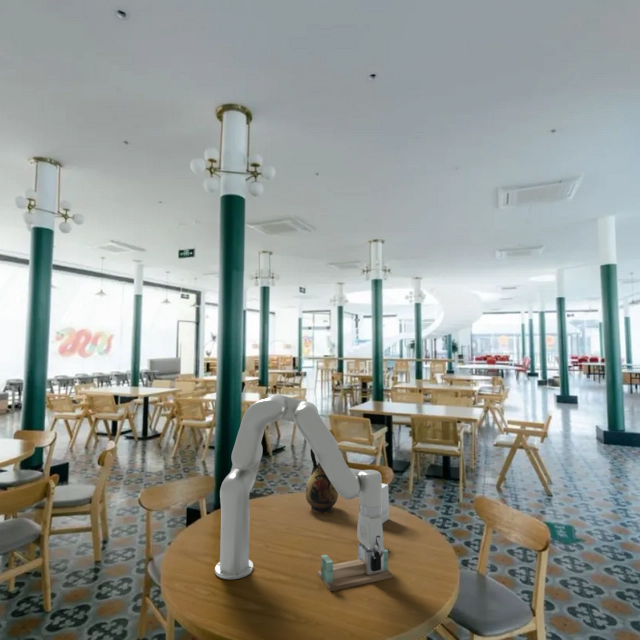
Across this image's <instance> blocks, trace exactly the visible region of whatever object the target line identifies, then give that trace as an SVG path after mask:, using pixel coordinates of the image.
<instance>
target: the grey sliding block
mask: <svg viewBox="0 0 640 640" xmlns="http://www.w3.org/2000/svg"><path fill="white" fill-rule="evenodd" d="M375 547H377V545H375ZM376 552H378V550H377V549H375V554H376ZM372 558H373V556H372V550H369V549H368V548H367V547H366V546H364V545H363V544H360V543H357V560H359V559H362V560H363V561H364V562H365V573H366V574H367V575H370V574H375V573H379V572H384V553H383V555H382V558H381V570H378V571H372Z"/></svg>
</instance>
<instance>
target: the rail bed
mask: <svg viewBox="0 0 640 640" xmlns="http://www.w3.org/2000/svg"><path fill="white" fill-rule="evenodd" d="M383 548H384V572H379V573H375V574H370V575H367V574H366V573H365V562H364V561H363V560H362V559H359V560H358V559H355V560H349V561H344V562H340V563H339V562H338V563H335V564H334V562H333V560H332V559H331V558H330V557H329V555H328V554H323V555H321V556H320V570H318V571H317V575H318V577H319V579H320V580H321V581H322V582H323V584H324V585H325V587H326V588H327V589H328V591H329V592H334V591H339V590H342V589H346V588H347V589H348V588H351V587H358V586H361V585H364V584H369V583H373V582H378V581H379V582H380V581H382V580H387V579H392V578H393V573H392V572H391V571H390V570H389V550H388V549H387V548H386V547H384V546H383Z"/></svg>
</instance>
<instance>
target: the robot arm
mask: <svg viewBox="0 0 640 640" xmlns="http://www.w3.org/2000/svg"><path fill="white" fill-rule="evenodd" d="M280 420H283V421H288V422H291V423H294V424H295V426H296V427H297V429H298V431H299V432H300V434H301V435H302V437H303V438H304V440H305V441H306V443H307V444H308V446H309V447H310V450H311V449H312V451H313V452H314V454H315V459H316V461H318V463H320V465H321V466H322V468H323V470H324V472H325V474H326V475H327V477H328V479H329V480H330V482H331V483H332V485H333V486H334V488H335V489H336V491H337V492H338V496H340V497H341V498H343V499H345V500H353V499H355V498H356V497H357V496H358V495H359V497H358V498H359V499H358V500H359V502H358V503H359V504H358V506H359V507H358V509H359V510H358V516H357V517H358V518H357V528H356V529H357V530H356V531H357V533H356V534H357V535H356V537H357V540H358V541H359V544H363V545H364V546H366V547H367V548H368V549H369V550H372V556H373V558H372V571H378V570H381V558H382V555H383V553H384V548H385V547H384V533H383V524H382V519H381V515H382V481H383V480H382V474H381V472H380V471H378V470H376V469H364V470H363V469H356V468H352V467H349V465H348V464H347V463H346V460H345V459H344V456H343V455H342V453H341V451H340V448H339V445H338V442H337V441H336V438H335V436H334V435H333V434H332V432H331V431H330V429H329V428H328V427H327V425H326V424H325V422H324V421H323V419H322V418H321V415H320V414H319V411H318V408H317V406H316V405H315V404H314V403H312V402H310V401H306V400H303V399H299V398H295V397H289V396H286V395H282V394H273V395H270V396H269V397H267V398H264V399H260V400H257V401H256V402H254V403H252V404H251V405H250V406H248V407H247V409H246V410H245V412H244V414H243V417H242V419H241V423H240V426H239V429H238V431H237V435H236V439H235V443H234V445H233V449H232V452H231V456H230V458H231V463H232V465H231V468H230V472H229V473H228V474H227V475H226V476H225V478H224V479H223V481H222V482H221V486H220V490H219V498H220V499H219V502H220V545H219V546H220V548H219V549H220V550H219V553H220V555H219V562H218V563H216V565H215V567H214V573H215V575H216V576H217V577H218V578H220V579H224V580H237V579H242V578H244V577H247V576H248V575H250V574H251V573H252V572H253V570H254V563H253V561H252V560H250V528H251V527H250V521H251V519H250V511H251V509H250V493H251V491H252V488H253V487H254V485H255V483H256V479H257V475H258V472H259V468H260V464H261V461H262V456H263V452H264V451H263V445H262V440H263V437H264V433H265V430H266V427H267V425H268V424H271V423H275V422H278V421H280ZM375 545H377V547H375ZM383 547H384V548H383ZM375 549H377V550H378V552H376V554H375Z"/></svg>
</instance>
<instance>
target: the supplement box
mask: <svg viewBox="0 0 640 640" xmlns="http://www.w3.org/2000/svg"><path fill="white" fill-rule="evenodd" d="M389 499H390V497H389V484H388V483H387V484H386V483H382V515H381V519H382V525H383V524H384V523H385V522H387V521H388V520H389V519H390V507H389V506H390V505H389V503H390V502H389Z"/></svg>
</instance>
